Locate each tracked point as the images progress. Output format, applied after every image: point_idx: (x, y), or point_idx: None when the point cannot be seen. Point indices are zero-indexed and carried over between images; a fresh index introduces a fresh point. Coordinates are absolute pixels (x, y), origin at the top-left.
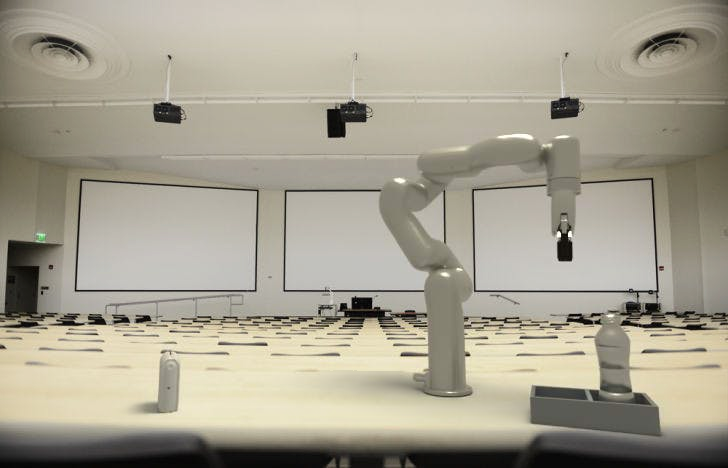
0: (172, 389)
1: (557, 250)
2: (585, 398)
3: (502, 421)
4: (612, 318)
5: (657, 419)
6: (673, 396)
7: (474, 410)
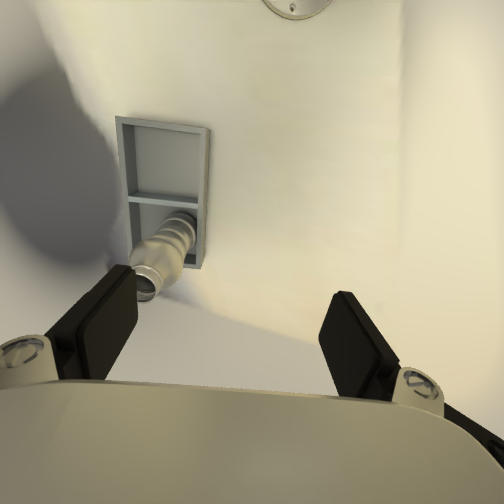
0: None
1: (94, 289)
2: (190, 200)
3: (123, 76)
4: None
5: None
6: (314, 307)
7: (168, 26)
